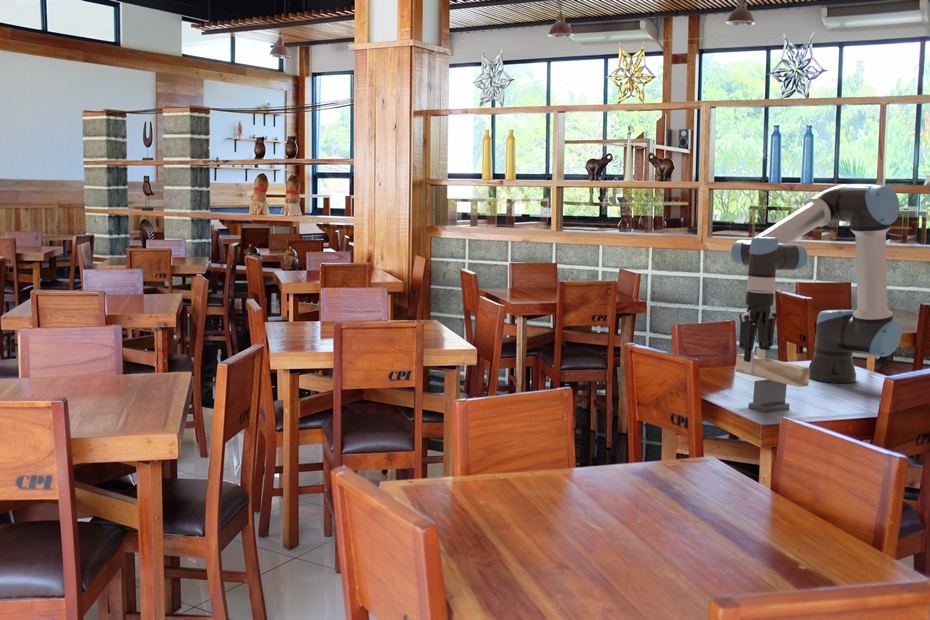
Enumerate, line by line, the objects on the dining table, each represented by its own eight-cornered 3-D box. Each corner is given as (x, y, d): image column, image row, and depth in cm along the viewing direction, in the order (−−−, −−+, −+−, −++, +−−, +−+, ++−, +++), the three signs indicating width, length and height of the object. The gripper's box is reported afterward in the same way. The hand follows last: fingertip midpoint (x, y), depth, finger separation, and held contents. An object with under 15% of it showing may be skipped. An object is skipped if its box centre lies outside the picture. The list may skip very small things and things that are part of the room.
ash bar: (744, 370, 266) (746, 353, 266) (808, 385, 248) (810, 367, 247) (735, 371, 264) (736, 354, 264) (798, 387, 246) (800, 368, 245)
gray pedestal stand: (771, 404, 263) (774, 376, 262) (789, 408, 258) (791, 381, 257) (748, 407, 257) (750, 380, 256) (765, 412, 252) (767, 384, 251)
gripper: (769, 288, 266) (763, 367, 269) (729, 290, 257) (723, 371, 260) (791, 291, 259) (784, 372, 263) (750, 293, 250) (743, 377, 254)
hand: (753, 371), depth 261 cm, fingers closed on ash bar, 4 cm apart
